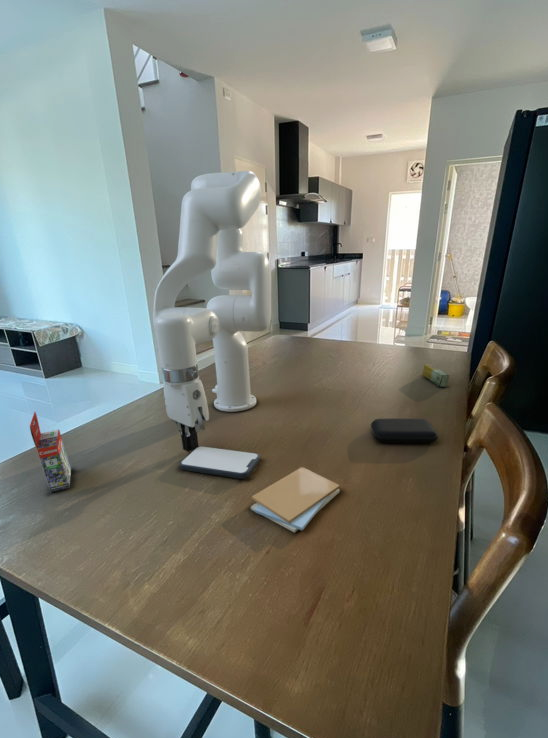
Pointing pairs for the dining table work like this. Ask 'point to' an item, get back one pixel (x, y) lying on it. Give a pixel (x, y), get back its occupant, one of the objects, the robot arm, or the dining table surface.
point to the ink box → (51, 456)
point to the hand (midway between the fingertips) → (190, 448)
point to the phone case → (220, 462)
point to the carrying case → (403, 430)
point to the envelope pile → (295, 498)
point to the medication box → (435, 375)
